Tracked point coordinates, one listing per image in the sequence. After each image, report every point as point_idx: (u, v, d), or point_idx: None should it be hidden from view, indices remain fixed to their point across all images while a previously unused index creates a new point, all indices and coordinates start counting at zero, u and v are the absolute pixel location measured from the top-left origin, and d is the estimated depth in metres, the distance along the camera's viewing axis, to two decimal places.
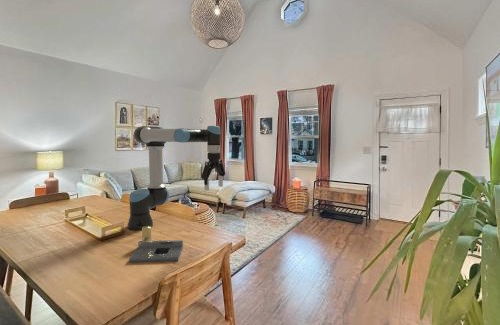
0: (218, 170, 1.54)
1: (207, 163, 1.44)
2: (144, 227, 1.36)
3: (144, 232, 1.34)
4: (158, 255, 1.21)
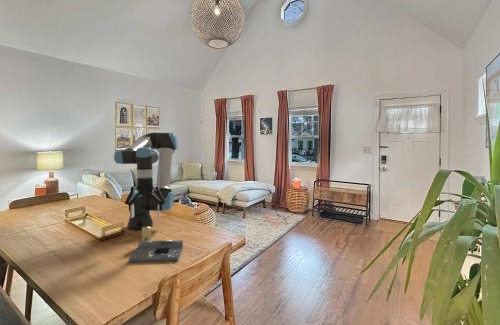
0: None
1: None
2: (144, 227, 1.35)
3: (144, 232, 1.34)
4: (158, 255, 1.21)
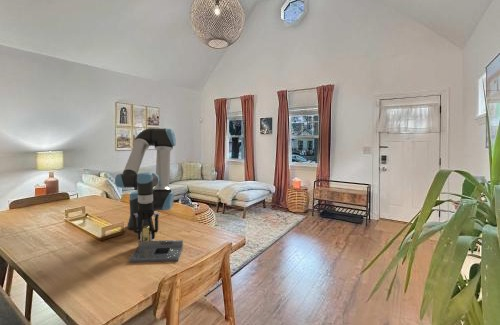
0: None
1: None
2: (144, 227, 1.35)
3: (144, 232, 1.34)
4: (158, 255, 1.21)
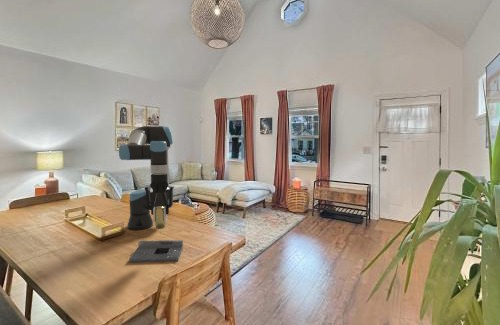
0: None
1: None
2: (158, 207, 1.23)
3: (158, 212, 1.22)
4: (158, 255, 1.21)
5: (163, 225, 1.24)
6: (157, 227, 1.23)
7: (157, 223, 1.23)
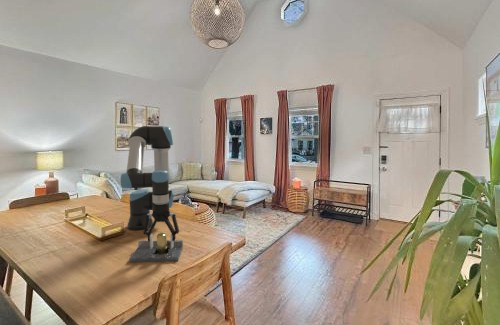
0: None
1: None
2: (159, 235, 1.25)
3: (160, 240, 1.23)
4: (158, 255, 1.21)
5: (165, 252, 1.25)
6: None
7: (159, 251, 1.24)
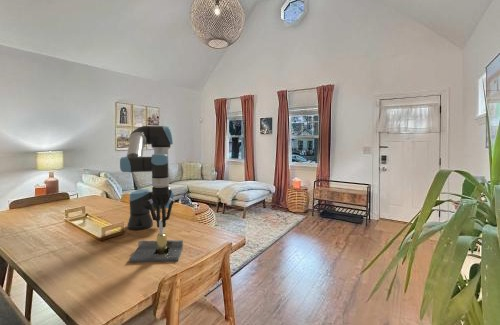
0: None
1: None
2: (159, 235, 1.25)
3: (160, 240, 1.23)
4: (158, 255, 1.21)
5: (165, 252, 1.25)
6: None
7: (159, 251, 1.24)
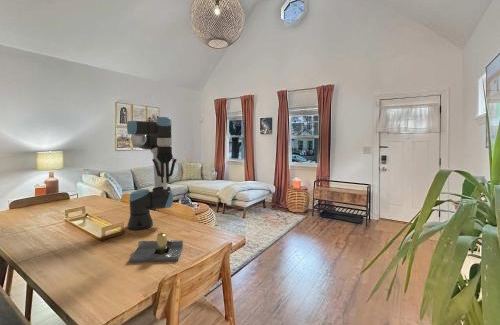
0: None
1: (153, 161, 1.38)
2: (159, 235, 1.25)
3: (160, 240, 1.23)
4: (158, 255, 1.21)
5: (165, 252, 1.25)
6: None
7: (159, 251, 1.24)
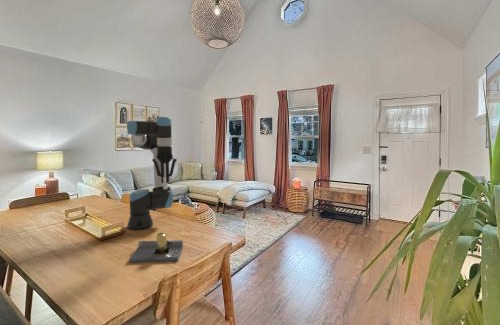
0: None
1: (153, 161, 1.38)
2: (159, 235, 1.25)
3: (159, 240, 1.23)
4: (158, 255, 1.21)
5: (165, 252, 1.25)
6: None
7: (159, 251, 1.24)
